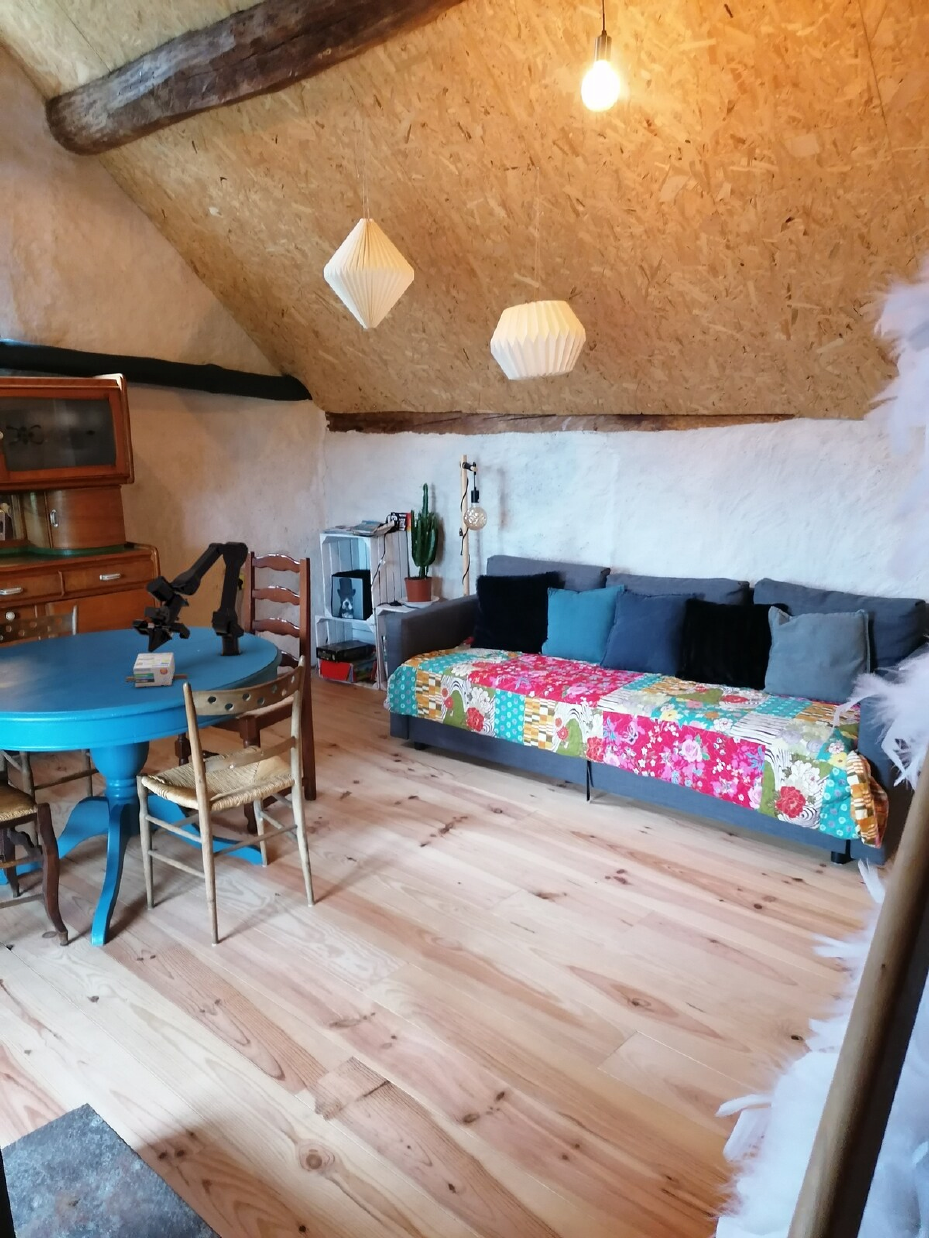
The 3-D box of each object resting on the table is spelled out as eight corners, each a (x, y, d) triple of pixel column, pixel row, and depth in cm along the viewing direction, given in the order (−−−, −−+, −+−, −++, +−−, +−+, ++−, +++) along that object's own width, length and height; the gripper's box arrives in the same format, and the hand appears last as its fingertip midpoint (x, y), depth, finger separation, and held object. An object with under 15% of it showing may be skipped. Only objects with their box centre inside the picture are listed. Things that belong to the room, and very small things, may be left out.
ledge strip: (127, 680, 258) (127, 676, 258) (187, 677, 262) (187, 673, 261) (126, 681, 257) (126, 678, 256) (186, 678, 260) (186, 675, 260)
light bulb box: (140, 672, 260) (134, 688, 251) (137, 653, 258) (132, 668, 248) (176, 670, 262) (171, 686, 253) (173, 651, 260) (169, 666, 250)
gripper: (132, 594, 263) (110, 635, 255) (181, 597, 257) (161, 640, 249) (151, 614, 272) (130, 654, 264) (199, 617, 266) (179, 659, 258)
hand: (149, 651), depth 258 cm, fingers closed
